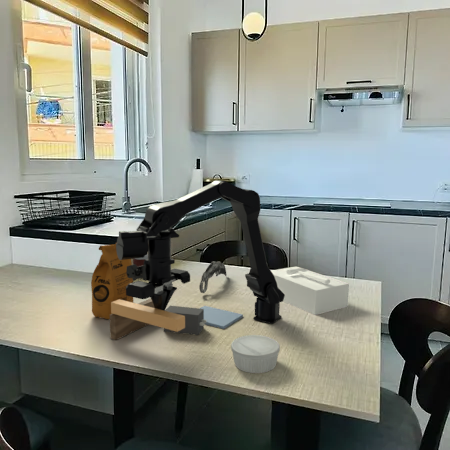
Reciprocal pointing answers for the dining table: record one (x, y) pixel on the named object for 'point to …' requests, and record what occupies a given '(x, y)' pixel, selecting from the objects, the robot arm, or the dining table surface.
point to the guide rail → (126, 323)
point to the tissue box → (311, 290)
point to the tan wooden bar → (148, 315)
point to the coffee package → (109, 281)
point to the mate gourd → (140, 261)
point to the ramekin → (255, 353)
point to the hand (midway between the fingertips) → (159, 315)
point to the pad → (219, 317)
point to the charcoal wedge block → (189, 319)
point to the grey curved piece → (211, 274)
